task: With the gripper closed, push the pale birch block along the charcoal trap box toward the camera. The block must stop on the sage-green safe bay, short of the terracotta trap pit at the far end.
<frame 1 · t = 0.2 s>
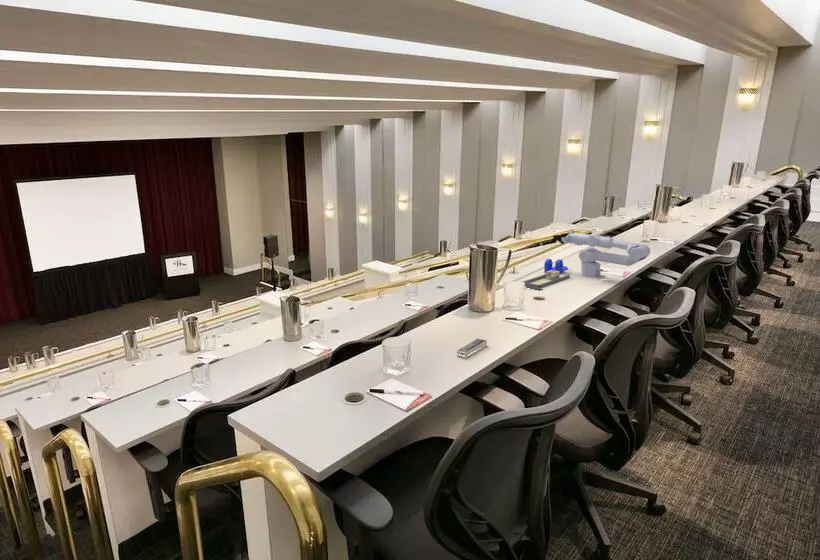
hand: (557, 236, 296), 21 cm above the table, tool horizontal, fingers open, 7 cm apart
block: (552, 278, 283), point 1 cm above the table, touching trap box
bracket: (557, 273, 302), on the table
trap box: (545, 283, 280), on the table
multiport hub: (472, 351, 196), on the table
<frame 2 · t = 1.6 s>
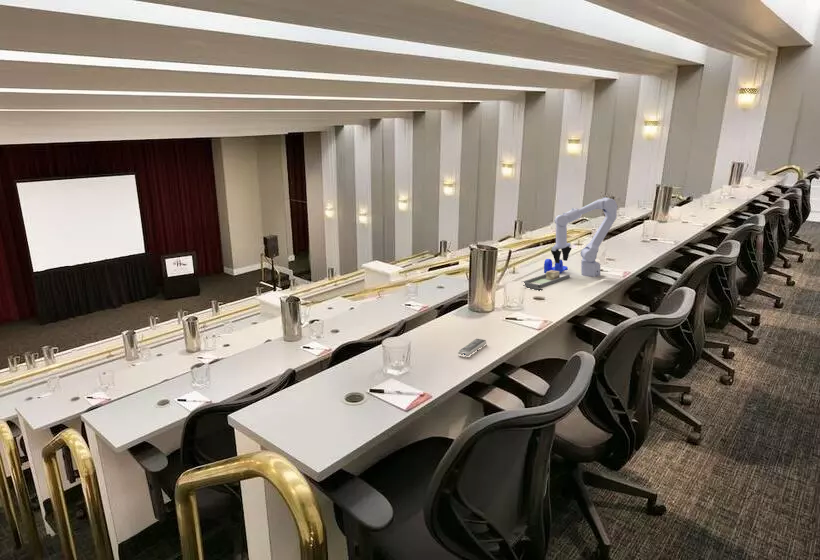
hand: (561, 261, 286), 9 cm above the table, tool pointing down, fingers open, 7 cm apart
nothing on the table moved.
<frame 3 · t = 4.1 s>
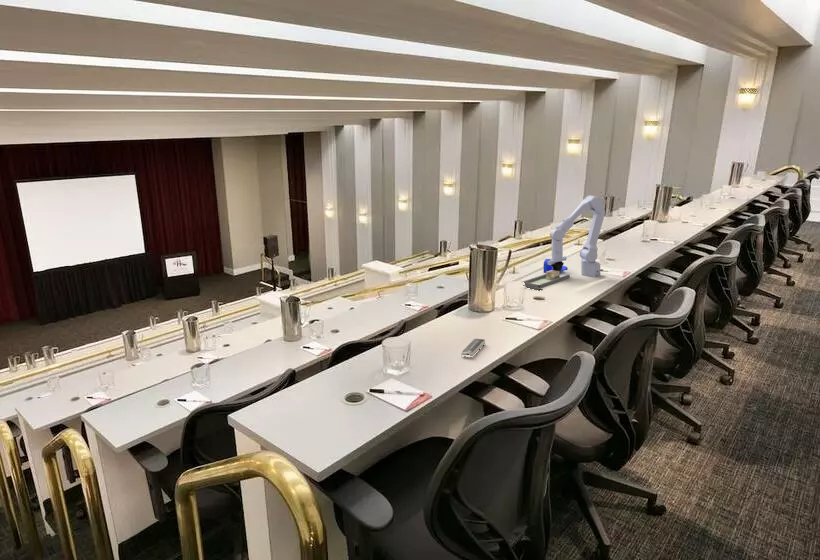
hand: (557, 275, 285), 2 cm above the table, tool pointing down, fingers closed
block: (552, 278, 283), point 2 cm above the table, touching gripper
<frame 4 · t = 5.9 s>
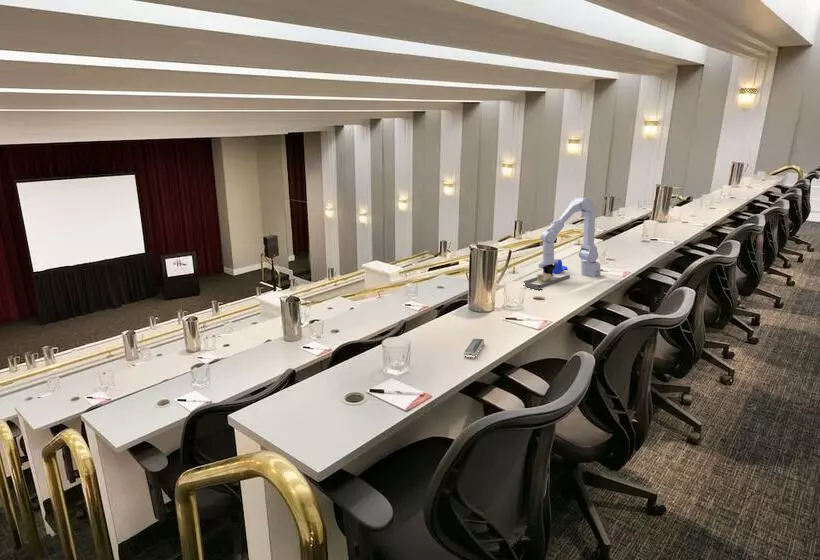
hand: (548, 278, 281), 2 cm above the table, tool pointing down, fingers closed
block: (544, 281, 278), point 1 cm above the table, touching gripper, trap box
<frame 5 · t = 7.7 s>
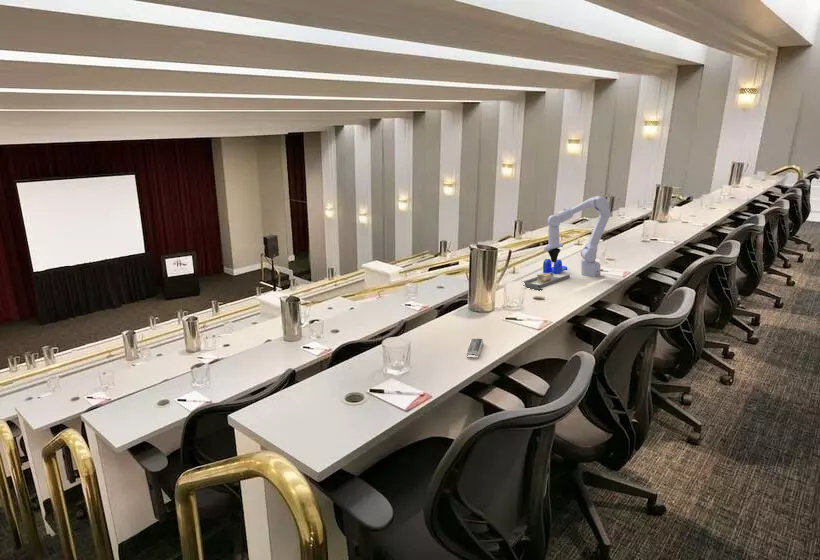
hand: (553, 262, 286), 9 cm above the table, tool pointing down, fingers closed
block: (544, 281, 278), point 1 cm above the table, touching trap box
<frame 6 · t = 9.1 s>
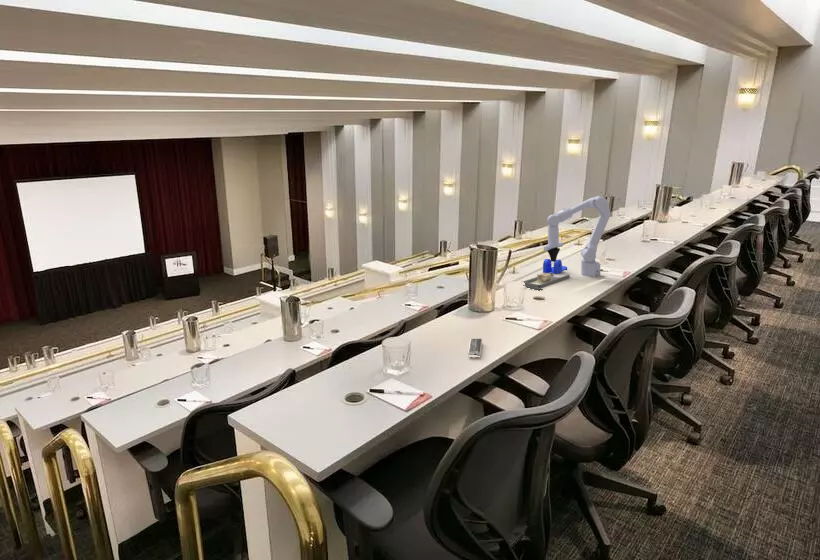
hand: (553, 261, 288), 9 cm above the table, tool pointing down, fingers closed
at the end: block 0.8 cm from the target spot, point 1.5 cm above the table; block tilted 0° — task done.
